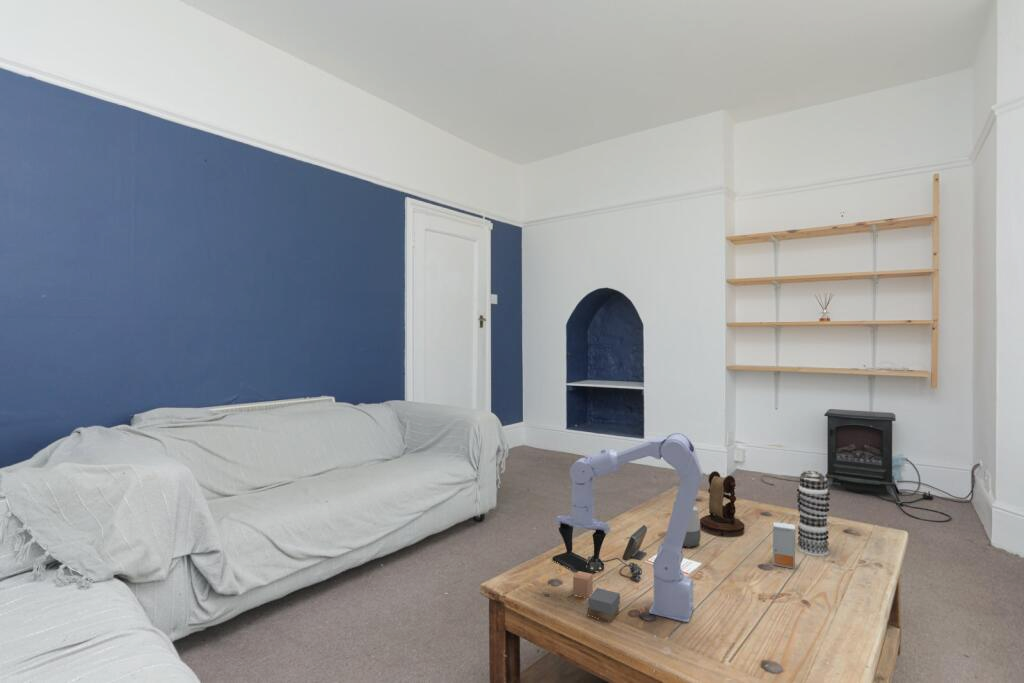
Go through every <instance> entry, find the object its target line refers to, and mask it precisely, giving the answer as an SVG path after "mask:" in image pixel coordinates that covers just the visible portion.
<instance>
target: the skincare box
mask: <svg viewBox="0 0 1024 683" xmlns="http://www.w3.org/2000/svg"><path fill="white" fill-rule="evenodd" d="M772 524H773V525H772V566H777V567H783V568H788V569H792V570H795V569H796V566H795V565H796V524H790V523H784V522H776V521H773V523H772Z"/></svg>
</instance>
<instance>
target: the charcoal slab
mask: <svg viewBox="0 0 1024 683" xmlns="http://www.w3.org/2000/svg"><path fill="white" fill-rule="evenodd" d="M587 600H588V607H587V609H588V608H590V609H593V610H597V611H601V612H605V613H608V614H613V612H614V611H615V610H616V608H617V607H618V605H620V604H621V594H620V592H615V591H611V590H607V589H603V588H599V587H596V588H595V590H593V593H592V594H591V595H590V596H589V598H588V599H587Z"/></svg>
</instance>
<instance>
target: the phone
mask: <svg viewBox="0 0 1024 683" xmlns="http://www.w3.org/2000/svg"><path fill="white" fill-rule="evenodd" d="M553 560H554V561H553ZM588 560H589V559H587V558H586V557H583V556H581V555H579V554H577V553H575V552H573V551H572V552H571V553H570V554H568V553H567V551H565V552H563V553H559V554H556V555H553V556H552V561H553V562H555V561H556V562H555V563H557V562H558V563H560V564H562V565H564V566H566V567H568V568H570V569H571V570H570V569H569V570H570V571H572V570H573V571H572V572H574V571H575V572H578V571H581V572H585V573H590V574H593V575H594V573H595V571H590V570H588V569H587V568H586V565H587V561H588ZM558 563H557V564H558ZM560 564H559V565H560ZM562 565H561V566H562ZM564 566H563V567H564ZM566 567H565V568H566ZM568 568H567V569H568ZM575 572H574V573H575Z"/></svg>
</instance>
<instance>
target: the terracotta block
mask: <svg viewBox="0 0 1024 683" xmlns="http://www.w3.org/2000/svg"><path fill="white" fill-rule="evenodd" d="M593 577H594V573H593V574H590V573H585V572H581V571H578V572H577V573H575V574H574V576H572V587H573V588H572V592H573V593H572V596H573V595H577V596H581V597H585V598H588V597H590V596H591V594H592V592H594V590H593V589H594V588H593V587H594V586H593V585H594V584H593V580H594V578H593ZM577 596H576V597H577ZM581 597H580V598H581ZM585 598H584V599H585Z"/></svg>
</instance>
